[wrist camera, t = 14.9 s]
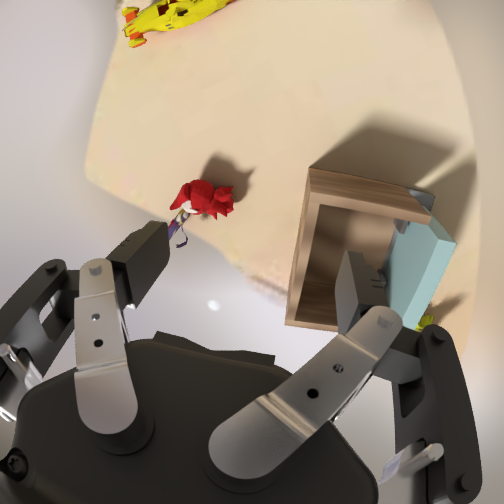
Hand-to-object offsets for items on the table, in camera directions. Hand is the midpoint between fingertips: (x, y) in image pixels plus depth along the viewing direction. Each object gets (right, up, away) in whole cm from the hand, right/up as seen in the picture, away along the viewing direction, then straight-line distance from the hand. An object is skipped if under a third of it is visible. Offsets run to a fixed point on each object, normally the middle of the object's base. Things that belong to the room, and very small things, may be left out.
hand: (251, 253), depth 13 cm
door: (+24, +1, +29) cm, 38 cm away
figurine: (-9, +7, +33) cm, 35 cm away
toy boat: (-9, +35, +17) cm, 40 cm away
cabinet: (+17, +2, +31) cm, 36 cm away
